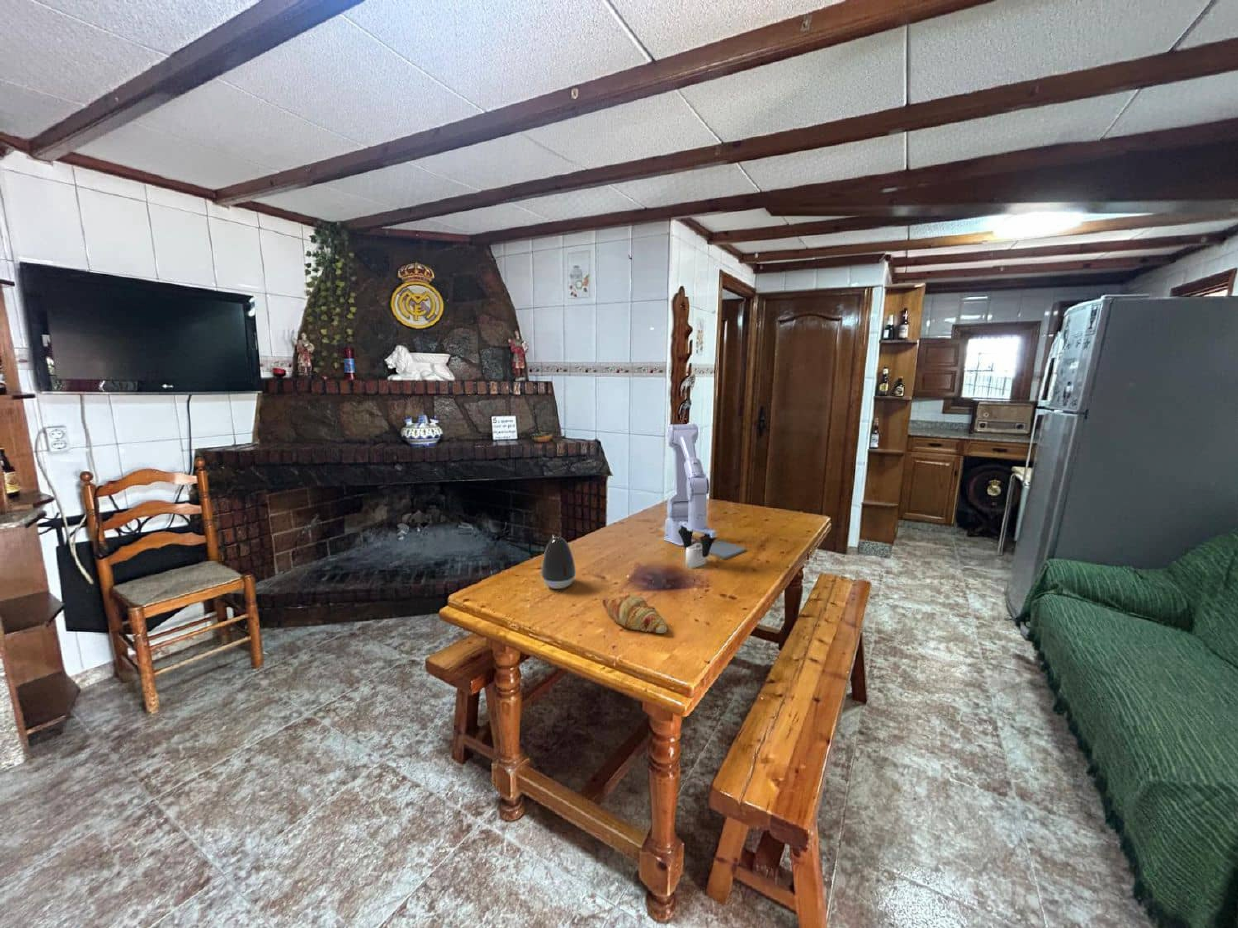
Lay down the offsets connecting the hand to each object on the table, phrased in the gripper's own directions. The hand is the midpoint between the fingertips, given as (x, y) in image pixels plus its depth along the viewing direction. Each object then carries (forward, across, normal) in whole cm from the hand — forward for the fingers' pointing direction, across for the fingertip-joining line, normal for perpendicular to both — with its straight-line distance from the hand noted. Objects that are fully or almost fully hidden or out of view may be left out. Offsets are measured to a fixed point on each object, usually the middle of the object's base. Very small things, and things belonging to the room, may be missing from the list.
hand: (696, 552), depth 165 cm
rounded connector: (+4, 0, 0) cm, 4 cm away
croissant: (+4, +14, -41) cm, 43 cm away
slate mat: (+4, -2, +16) cm, 17 cm away
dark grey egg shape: (+4, -17, -43) cm, 46 cm away
